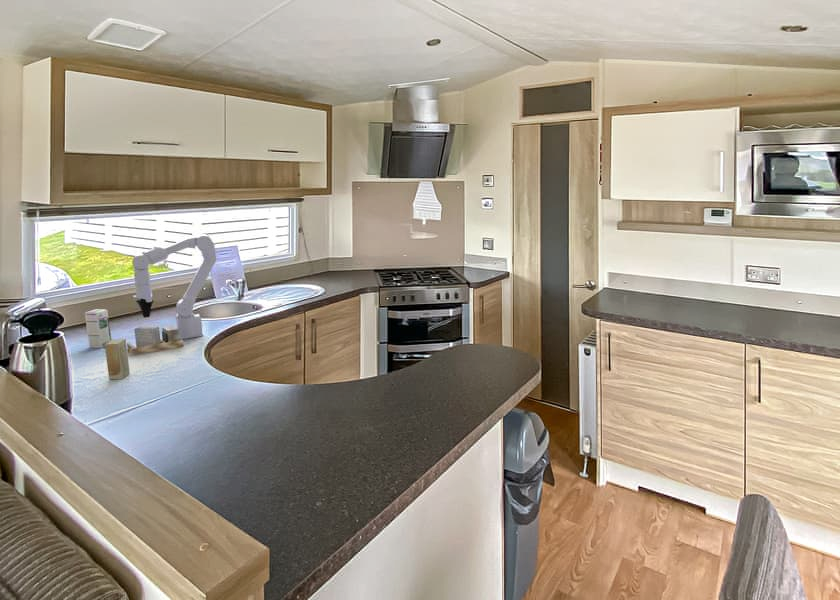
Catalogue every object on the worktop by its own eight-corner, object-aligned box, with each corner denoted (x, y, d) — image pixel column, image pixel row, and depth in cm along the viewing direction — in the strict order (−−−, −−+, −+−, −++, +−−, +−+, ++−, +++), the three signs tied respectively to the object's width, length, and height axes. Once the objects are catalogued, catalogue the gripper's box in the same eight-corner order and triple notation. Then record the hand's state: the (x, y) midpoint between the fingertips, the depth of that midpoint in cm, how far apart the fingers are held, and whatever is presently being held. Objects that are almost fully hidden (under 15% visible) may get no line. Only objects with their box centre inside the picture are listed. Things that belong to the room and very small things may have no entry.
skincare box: (117, 374, 189) (112, 338, 186) (130, 373, 189) (126, 338, 187) (108, 380, 182) (103, 343, 180) (122, 379, 183) (117, 343, 180)
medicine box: (161, 347, 220) (159, 326, 219) (154, 350, 216) (152, 329, 214) (143, 347, 222) (141, 325, 220) (136, 350, 218) (133, 328, 216)
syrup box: (101, 348, 221) (97, 312, 218) (88, 347, 222) (84, 311, 219) (112, 344, 226) (108, 309, 223) (99, 343, 227) (95, 308, 225)
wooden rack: (176, 341, 230) (174, 324, 228) (183, 346, 222) (181, 329, 221) (124, 349, 218) (122, 332, 216) (131, 355, 210) (129, 337, 209)
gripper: (127, 283, 230) (131, 315, 233) (136, 287, 219) (140, 321, 222) (146, 281, 234) (149, 313, 237) (156, 285, 223) (159, 318, 226)
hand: (146, 317), depth 230 cm, fingers closed
